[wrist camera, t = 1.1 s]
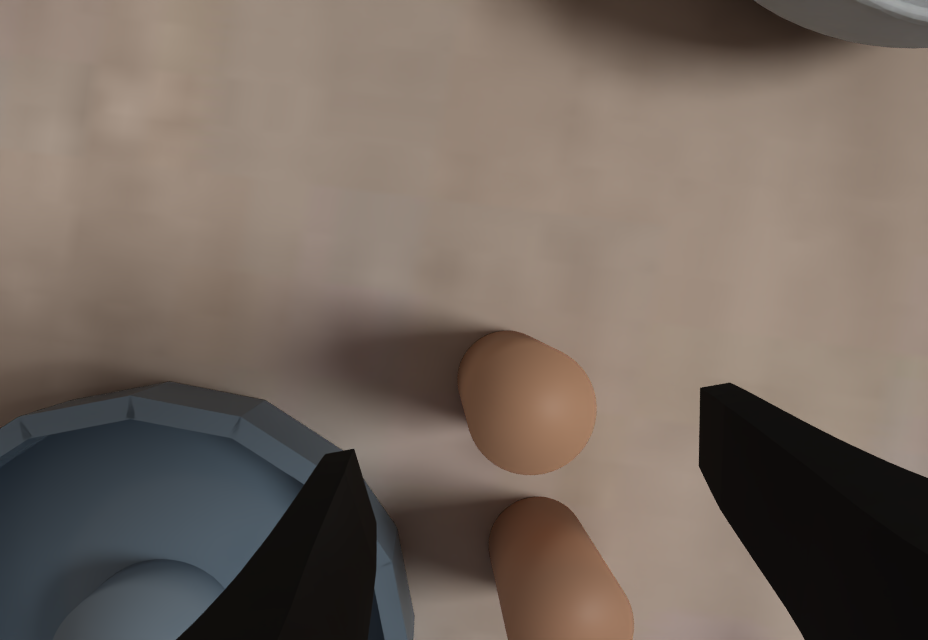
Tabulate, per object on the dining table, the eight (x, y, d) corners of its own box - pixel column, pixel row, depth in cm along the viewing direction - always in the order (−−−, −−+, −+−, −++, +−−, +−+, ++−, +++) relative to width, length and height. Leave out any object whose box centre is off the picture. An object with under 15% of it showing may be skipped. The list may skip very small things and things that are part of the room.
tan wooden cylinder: (562, 417, 24) (606, 460, 18) (467, 436, 24) (479, 486, 18) (545, 322, 24) (584, 333, 18) (449, 340, 24) (455, 358, 18)
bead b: (591, 579, 24) (643, 674, 18) (498, 599, 24) (519, 702, 18) (575, 488, 24) (622, 553, 18) (480, 507, 24) (497, 580, 18)
